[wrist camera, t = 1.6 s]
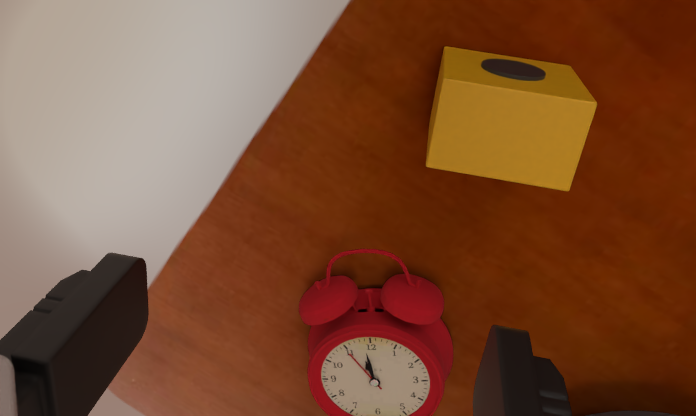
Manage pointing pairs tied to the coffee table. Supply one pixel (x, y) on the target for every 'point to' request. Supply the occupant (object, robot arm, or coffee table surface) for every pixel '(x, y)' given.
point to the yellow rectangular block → (508, 118)
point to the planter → (632, 413)
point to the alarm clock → (376, 344)
